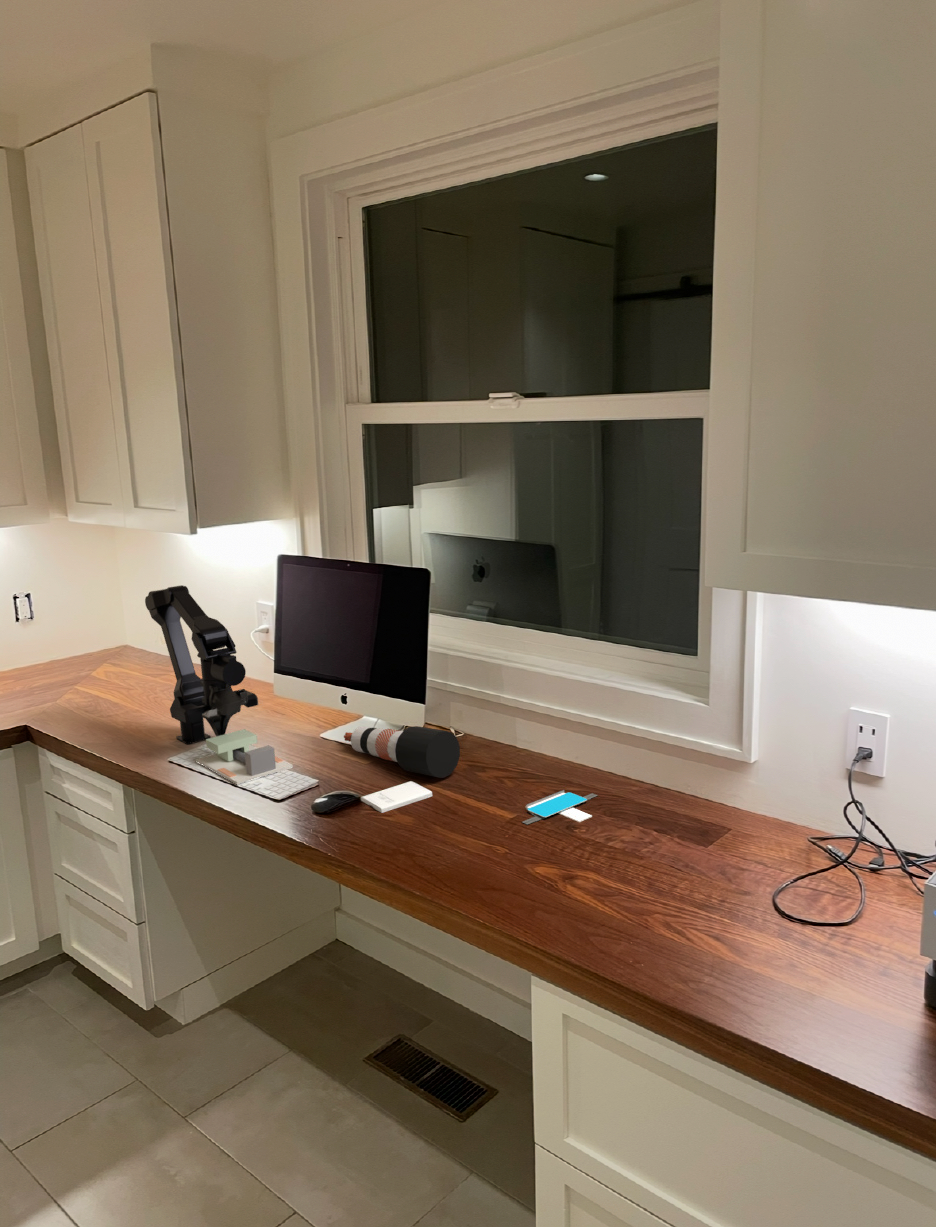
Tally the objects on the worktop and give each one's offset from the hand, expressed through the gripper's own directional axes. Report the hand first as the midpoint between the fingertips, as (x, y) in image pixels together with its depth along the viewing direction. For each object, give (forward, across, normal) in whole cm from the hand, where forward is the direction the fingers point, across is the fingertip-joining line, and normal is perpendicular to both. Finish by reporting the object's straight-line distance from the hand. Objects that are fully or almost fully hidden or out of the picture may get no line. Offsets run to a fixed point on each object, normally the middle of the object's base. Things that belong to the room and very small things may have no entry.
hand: (220, 740), depth 222 cm
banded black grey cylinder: (+4, +26, -35) cm, 43 cm away
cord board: (+4, 0, -11) cm, 11 cm away
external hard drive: (+4, +13, -52) cm, 54 cm away
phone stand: (+5, +33, -81) cm, 87 cm away
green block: (+2, 0, -6) cm, 6 cm away
